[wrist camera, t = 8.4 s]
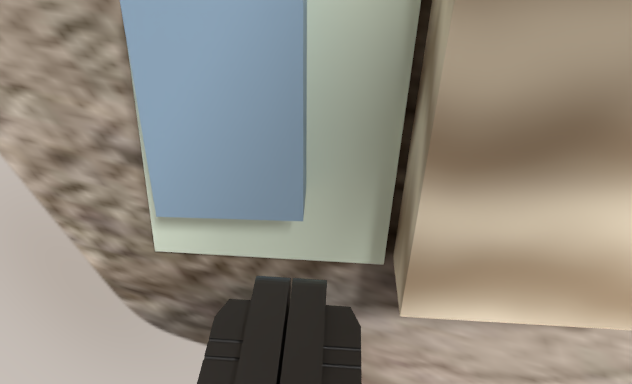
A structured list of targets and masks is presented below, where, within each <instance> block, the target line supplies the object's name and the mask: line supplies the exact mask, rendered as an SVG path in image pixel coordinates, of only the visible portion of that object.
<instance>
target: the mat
mask: <svg viewBox="0 0 632 384" xmlns="http://www.w3.org/2000/svg"><path fill="white" fill-rule="evenodd" d="M420 5H421V0H307V134H306V196H305V207H304V218H303V221H275V220H243V219H211V218H180V217H156V212H155V206H154V200H153V194H152V188H151V182H150V176H149V170H148V164H147V158H146V152H145V147H144V141H143V135H142V129H141V123H140V117H139V111H138V105H137V99H136V93H135V87H134V81H133V76H132V70H131V64H130V70H131V77H132V84H133V92H134V99H135V106H136V114H137V121H138V129H139V136H140V143H141V151H142V158H143V165H144V173H145V180H146V188H147V195H148V202H149V210H150V217H151V224H152V232H153V239H154V247H155V251H161V252H178V253H195V254H212V255H229V256H246V257H263V258H280V259H297V260H314V261H331V262H348V263H365V264H382V265H384V258H385V251H386V244H387V237H388V230H389V223H390V216H391V209H392V202H393V195H394V188H395V181H396V174H397V167H398V160H399V153H400V146H401V139H402V132H403V124H404V117H405V110H406V103H407V96H408V89H409V82H410V75H411V68H412V61H413V54H414V47H415V40H416V33H417V26H418V19H419V12H420ZM127 48H128V46H127ZM128 55H129V52H128ZM129 62H130V58H129Z"/></svg>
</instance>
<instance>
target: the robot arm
mask: <svg viewBox="0 0 632 384" xmlns="http://www.w3.org/2000/svg"><path fill="white" fill-rule="evenodd" d="M326 288H327V280H314V279H299V278H293V283H292V291H291V278H281V277H266V276H257V277H256V279H255V284H254V289H253V294H252V299H251V300H236V299H229V300H228V302H227V303H226V304H225V305H224V306H223V308H222V309H221V310H220V311H219V312H218V314H217V315H216V316H215V318H214V322H213V325H212V329H211V333H210V337H209V342H208V344H207V348H206V352H205V358H204V360H203V363H202V367H201V371H200V374H199V379H198V382H197V384H361V326H360V324H359V322H358V320H357V319H356V317H355V315H354V313H353V311H352V309H351V307H344V306H329V305H326Z"/></svg>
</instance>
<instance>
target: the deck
mask: <svg viewBox="0 0 632 384" xmlns="http://www.w3.org/2000/svg"><path fill="white" fill-rule="evenodd" d="M393 261H394V269H395V278H396V287H397V295H398V304H399V312H400V317H416V318H433V319H449V320H466V321H483V322H500V323H517V324H534V325H551V326H568V327H585V328H602V329H618V330H632V0H432V5H431V11H430V18H429V25H428V31H427V38H426V44H425V51H424V57H423V64H422V71H421V77H420V84H419V90H418V97H417V103H416V110H415V116H414V123H413V130H412V136H411V143H410V149H409V156H408V162H407V169H406V176H405V182H404V189H403V195H402V202H401V208H400V215H399V222H398V228H397V235H396V241H395V248H394V254H393Z"/></svg>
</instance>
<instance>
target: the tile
mask: <svg viewBox="0 0 632 384" xmlns="http://www.w3.org/2000/svg"><path fill="white" fill-rule="evenodd" d="M120 4H121V10H122V16H123V22H124V28H125V34H126V40H127V46H128V52H129V58H130V64H131V70H132V76H133V81H134V87H135V93H136V99H137V105H138V111H139V117H140V123H141V129H142V135H143V141H144V147H145V152H146V158H147V164H148V170H149V176H150V182H151V188H152V194H153V200H154V206H155V212H156V217H180V218H211V219H243V220H275V221H303V218H304V207H305V196H306V134H307V0H120Z"/></svg>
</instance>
